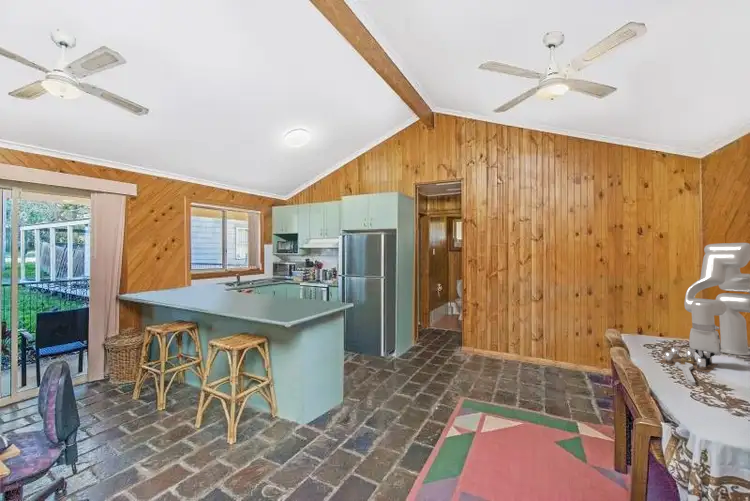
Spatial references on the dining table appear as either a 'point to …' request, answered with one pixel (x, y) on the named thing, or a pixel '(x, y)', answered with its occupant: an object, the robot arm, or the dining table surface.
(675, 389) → the dining table surface
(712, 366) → the board
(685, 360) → the nut
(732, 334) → the robot arm
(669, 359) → the spacers
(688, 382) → the adjustable wrench
